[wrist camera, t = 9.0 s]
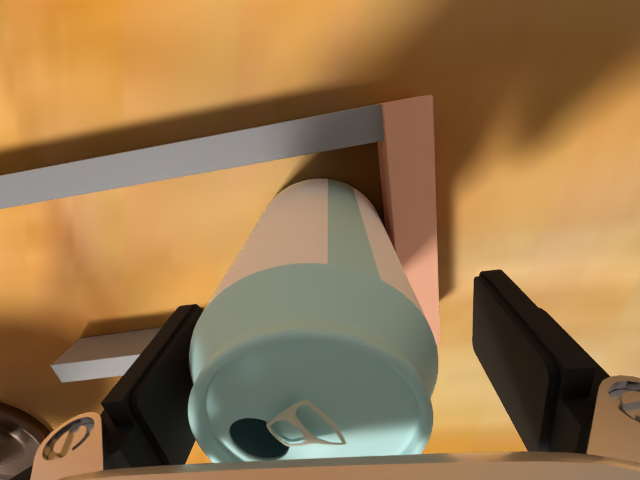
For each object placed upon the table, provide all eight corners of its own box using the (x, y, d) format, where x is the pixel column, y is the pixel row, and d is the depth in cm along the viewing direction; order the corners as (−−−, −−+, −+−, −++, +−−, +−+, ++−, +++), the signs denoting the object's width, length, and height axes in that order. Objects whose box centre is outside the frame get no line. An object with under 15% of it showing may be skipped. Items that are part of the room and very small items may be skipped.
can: (353, 299, 20) (384, 537, 9) (248, 265, 19) (140, 481, 8) (401, 201, 17) (529, 368, 6) (281, 157, 16) (186, 259, 5)
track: (413, 96, 15) (433, 94, 12) (424, 312, 20) (439, 344, 17) (-18, 178, 17) (-84, 192, 15) (89, 354, 22) (55, 389, 20)
